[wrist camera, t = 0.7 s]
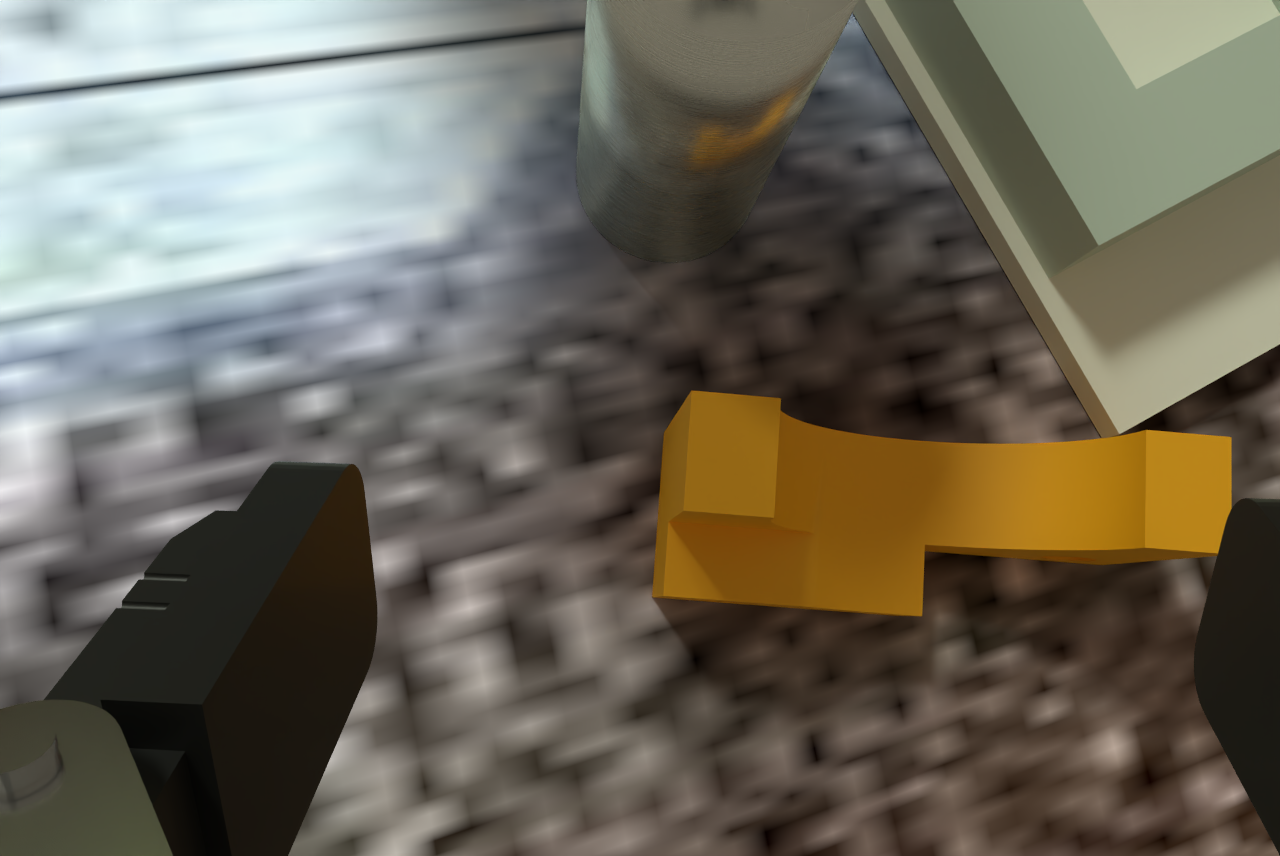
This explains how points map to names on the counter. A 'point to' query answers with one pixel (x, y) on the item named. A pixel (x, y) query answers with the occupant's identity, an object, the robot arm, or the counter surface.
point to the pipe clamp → (909, 506)
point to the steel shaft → (691, 113)
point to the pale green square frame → (1111, 175)
